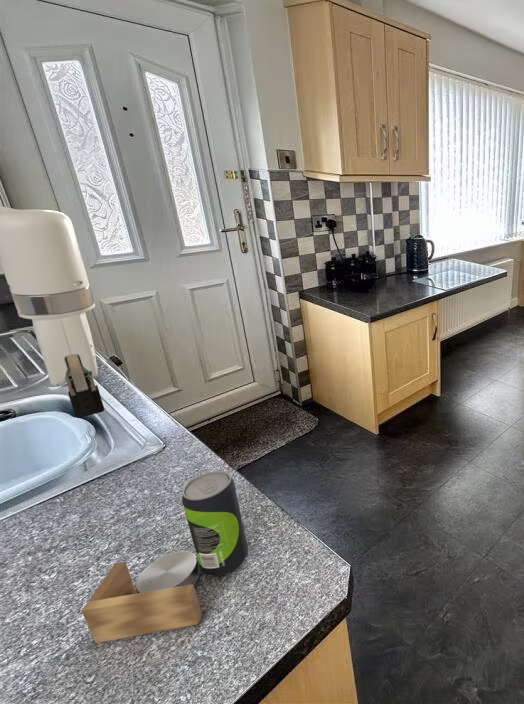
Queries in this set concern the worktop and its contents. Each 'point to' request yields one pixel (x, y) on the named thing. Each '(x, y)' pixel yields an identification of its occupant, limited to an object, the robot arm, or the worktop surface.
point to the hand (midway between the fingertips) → (90, 412)
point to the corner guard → (137, 608)
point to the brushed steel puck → (169, 572)
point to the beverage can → (215, 522)
